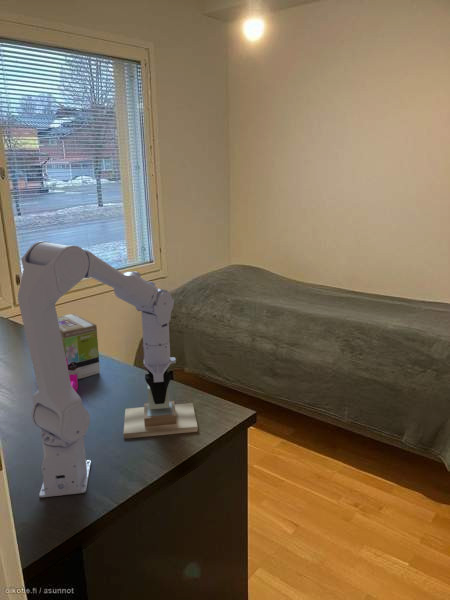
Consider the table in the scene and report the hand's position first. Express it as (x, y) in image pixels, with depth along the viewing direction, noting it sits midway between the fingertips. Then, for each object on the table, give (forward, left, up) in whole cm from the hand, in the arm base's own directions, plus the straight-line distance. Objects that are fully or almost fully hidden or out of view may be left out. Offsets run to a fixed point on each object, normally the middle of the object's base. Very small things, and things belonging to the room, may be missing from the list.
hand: (159, 397), depth 106 cm
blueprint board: (0, 0, -6) cm, 6 cm away
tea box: (+34, +24, -6) cm, 42 cm away
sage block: (0, 0, -2) cm, 2 cm away
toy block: (+19, +24, -6) cm, 32 cm away
